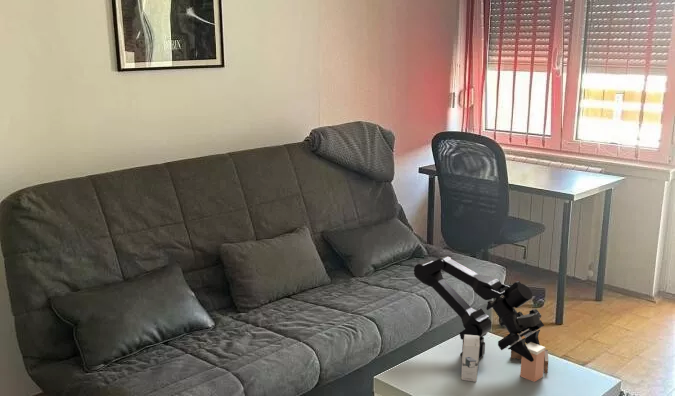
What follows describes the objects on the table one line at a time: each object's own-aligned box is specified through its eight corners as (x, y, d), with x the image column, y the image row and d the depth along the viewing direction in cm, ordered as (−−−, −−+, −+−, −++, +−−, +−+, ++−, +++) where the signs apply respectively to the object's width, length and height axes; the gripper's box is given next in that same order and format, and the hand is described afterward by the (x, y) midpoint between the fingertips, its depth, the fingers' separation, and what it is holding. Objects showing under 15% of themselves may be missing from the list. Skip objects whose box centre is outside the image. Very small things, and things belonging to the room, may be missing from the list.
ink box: (461, 367, 214) (463, 333, 211) (477, 369, 213) (479, 335, 210) (461, 380, 206) (462, 345, 203) (477, 382, 205) (479, 346, 202)
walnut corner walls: (510, 368, 214) (510, 356, 213) (510, 356, 222) (511, 345, 221) (547, 373, 211) (548, 361, 210) (546, 361, 219) (547, 349, 218)
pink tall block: (520, 376, 208) (522, 346, 206) (528, 371, 212) (530, 341, 209) (534, 382, 205) (537, 352, 203) (542, 376, 208) (545, 347, 206)
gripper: (509, 310, 199) (539, 357, 194) (540, 295, 212) (570, 338, 207) (485, 327, 207) (514, 372, 201) (517, 311, 219) (545, 353, 214)
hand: (537, 358), depth 206 cm, fingers closed on pink tall block, 5 cm apart
